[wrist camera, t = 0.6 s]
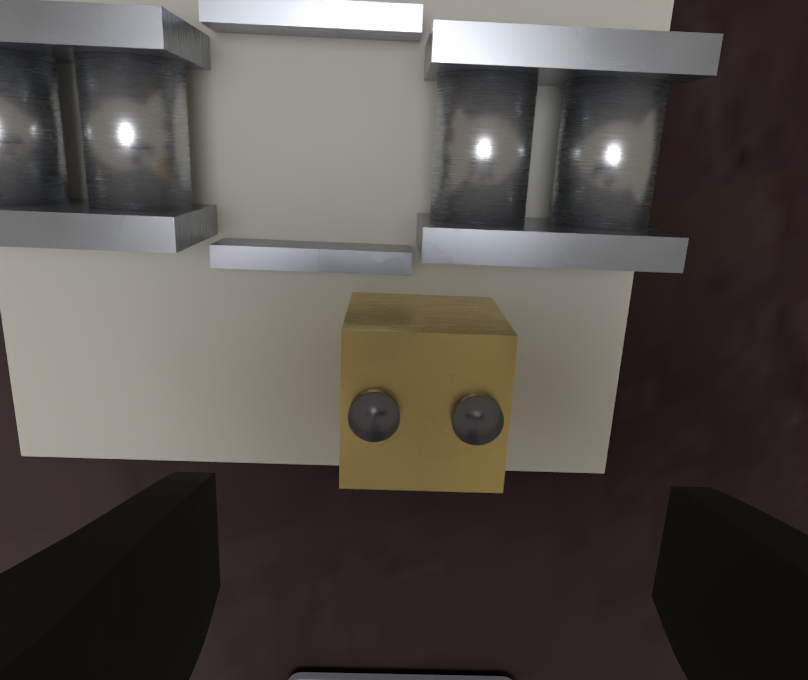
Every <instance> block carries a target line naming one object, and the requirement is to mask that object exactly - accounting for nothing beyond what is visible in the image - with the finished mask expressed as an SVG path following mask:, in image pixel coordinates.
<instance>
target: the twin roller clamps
mask: <svg viewBox="0 0 808 680" xmlns="http://www.w3.org/2000/svg"><path fill="white" fill-rule="evenodd" d="M198 6H199V22H201V23H202V24H204V25H205V26H207V27H208V28H210V29H211V30H212V31H214V32H216V33H237V34H257V35H278V36H298V37H319V38H340V39H360V40H381V41H401V42H420V39H421V35H422V22H423V4H409V3H389V2H369V1H349V0H198ZM722 39H723V34H714V33H694V32H674V31H654V30H633V29H613V28H593V27H573V26H553V25H533V24H513V23H493V22H473V21H452V20H433V23H432V26H431V30H430V33H429V36H428V40H427V43H426V46H425V63H424V80H426V81H437V85H436V104H435V123H434V142H433V161H432V180H431V199H430V213H417V232H416V244H417V248H418V252H419V255H420V259H421V263H437V264H462V265H488V266H514V267H539V268H565V269H591V270H616V271H642V272H668V273H683V270H684V264H685V258H686V252H687V246H688V240H689V238H687V237H684V236H680V235H677V234H673V233H670V232H666V231H663V230H659V229H656V228H653V227H649V226H648V223H649V216H650V210H651V203H652V196H653V190H654V183H655V176H656V170H657V163H658V156H659V150H660V143H661V136H662V130H663V123H664V116H665V110H666V103H667V96H668V90H669V87H671V86H675V85H679V84H683V83H687V82H692V81H696V80H700V79H704V78H709V77H713V76H716V75H717V69H718V63H719V57H720V51H721V45H722ZM56 63H65V64H75V71H76V81H77V92H78V102H79V112H80V122H81V133H82V143H83V153H84V163H85V173H86V184H87V194H88V199H70V194H69V184H68V175H67V165H66V156H65V147H64V137H63V128H62V118H61V109H60V99H59V90H58V80H57V71H56ZM185 69H192V70H211V58H210V36H208V35H206V34H205V33H203V32H202V31H200V30H199V29H197V28H195V27H194V26H192V25H191V24H189V23H187V22H186V21H184V20H183V19H181V18H180V17H178V16H176V15H175V14H173V13H172V12H170V11H168V10H167V9H165V8H164V7H162V6H151V5H131V4H111V3H90V2H70V1H50V0H0V247H26V248H52V249H77V250H103V251H129V252H154V253H178V252H180V251H182V250H185V249H187V248H189V247H191V246H193V245H195V244H197V243H200V242H202V241H204V240H206V239H208V238H210V237H212V236H215V235H217V234H218V227H217V205H215V204H192V186H191V167H190V147H189V128H188V109H187V90H186V71H185ZM538 86H554V87H564V92H563V101H562V111H561V120H560V130H559V139H558V148H557V158H556V167H555V177H554V186H553V195H552V205H551V214H550V218H531V217H525V213H526V202H527V192H528V181H529V171H530V160H531V150H532V139H533V129H534V118H535V108H536V97H537V87H538ZM209 248H210V268H221V269H247V270H273V271H300V272H326V273H352V274H378V275H404V276H411V262H412V251H411V245H392V244H367V243H342V242H316V241H291V240H266V239H241V238H222V239H220V240H218V241H216V242H214V243H212V244H210V245H209Z"/></svg>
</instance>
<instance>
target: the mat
mask: <svg viewBox="0 0 808 680" xmlns="http://www.w3.org/2000/svg"><path fill="white" fill-rule="evenodd" d="M50 1H70V2H90V3H111V4H131V5H151V6H162V7H164V8H165V9H167V10H168V11H170V12H172V13H173V14H175V15H176V16H178V17H180V18H181V19H183V20H184V21H186V22H187V23H189V24H191V25H192V26H194V27H195V28H197V29H199V30H200V31H202V32H203V33H205V34H206V35H208V36H210V58H211V70H192V69H185V71H186V90H187V109H188V128H189V147H190V167H191V186H192V204H215V205H217V227H218V234H217V235H215V236H212V237H210V238H208V239H206V240H204V241H202V242H200V243H197V244H195V245H193V246H191V247H189V248H187V249H185V250H182V251H180V252H178V253H154V252H129V251H103V250H77V249H52V248H26V247H0V310H1V317H2V324H3V331H4V338H5V345H6V352H7V359H8V366H9V373H10V380H11V387H12V394H13V401H14V408H15V415H16V421H17V428H18V435H19V442H20V449H21V456H39V457H72V458H105V459H139V460H172V461H206V462H239V463H272V464H306V465H339V457H340V388H341V329H342V326H343V322H344V319H345V316H346V312H347V309H348V305H349V302H350V298H351V295H352V292H363V293H390V294H417V295H443V296H470V297H492V298H493V300H494V301H495V303H496V304H497V306H498V307H499V309H500V310H501V312H502V313H503V315H504V316H505V318H506V319H507V320H508V322H509V323H510V325H511V326H512V328H513V329H514V331H515V332H516V334H517V335H518V343H517V354H516V364H515V374H514V385H513V395H512V405H511V415H510V426H509V436H508V446H507V457H506V467H505V470H506V471H540V472H573V473H605V466H606V459H607V452H608V446H609V439H610V432H611V425H612V418H613V412H614V405H615V398H616V391H617V384H618V378H619V371H620V364H621V357H622V350H623V344H624V337H625V330H626V323H627V316H628V310H629V303H630V296H631V289H632V282H633V276H634V271H616V270H591V269H565V268H539V267H514V266H488V265H462V264H437V263H421V259H420V255H419V252H418V248H417V244H416V232H417V213H430V199H431V180H432V161H433V142H434V123H435V104H436V85H437V81H426V80H424V63H425V46H426V43H427V40H428V36H429V33H430V30H431V26H432V23H433V20H452V21H473V22H493V23H513V24H533V25H553V26H573V27H593V28H613V29H633V30H654V31H670V24H671V17H672V10H673V3H674V0H349V1H369V2H389V3H409V4H423V22H422V35H421V39H420V42H401V41H381V40H360V39H340V38H319V37H298V36H278V35H257V34H237V33H216V32H214V31H212V30H211V29H210V28H208V27H207V26H205V25H204V24H202V23H201V22H199V6H198V0H50ZM56 71H57V80H58V90H59V99H60V109H61V118H62V128H63V137H64V147H65V156H66V165H67V175H68V184H69V194H70V199H88V194H87V184H86V173H85V163H84V153H83V143H82V133H81V122H80V112H79V102H78V92H77V81H76V71H75V64H65V63H56ZM563 92H564V87H554V86H538V87H537V97H536V108H535V118H534V129H533V139H532V150H531V160H530V171H529V181H528V192H527V202H526V213H525V217H531V218H550V214H551V205H552V195H553V186H554V177H555V167H556V158H557V148H558V139H559V130H560V120H561V111H562V101H563ZM222 238H241V239H266V240H291V241H316V242H342V243H367V244H392V245H411V251H412V262H411V276H404V275H378V274H352V273H326V272H300V271H273V270H247V269H221V268H210V248H209V245H210V244H212V243H214V242H216V241H218V240H220V239H222Z"/></svg>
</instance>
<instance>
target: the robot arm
mask: <svg viewBox="0 0 808 680" xmlns="http://www.w3.org/2000/svg"><path fill="white" fill-rule="evenodd" d="M219 588H220V569H219V547H218V525H217V504H216V482H215V473H196V472H175V473H173V474H171V475H168V476H166V477H165V478H163V479H161V480H159V481H158V482H156V483H154V484H153V485H151V486H149V487H148V488H146V489H144V490H143V491H141V492H139V493H138V494H136V495H135V496H133V497H131V498H130V499H128V500H127V501H125V502H123V503H122V504H120V505H118V506H117V507H115V508H114V509H112V510H110V511H109V512H107V513H105V514H104V515H102V516H101V517H99V518H97V519H96V520H94V521H92V522H91V523H89V524H87V525H86V526H84V527H83V528H81V529H79V530H78V531H76V532H74V533H73V534H71V535H69V536H67V537H65V538H64V539H62V540H60V541H58V542H56V543H55V544H53V545H51V546H49V547H48V548H46V549H44V550H42V551H40V552H39V553H37V554H35V555H33V556H31V557H30V558H28V559H26V560H24V561H23V562H21V563H19V564H17V565H15V566H14V567H12V568H10V569H8V570H6V571H4V572H2V573H1V574H0V680H189V678H190V676H191V674H192V671H193V669H194V667H195V664H196V662H197V659H198V657H199V655H200V652H201V650H202V647H203V644H204V641H205V638H206V634H207V631H208V628H209V624H210V621H211V617H212V614H213V610H214V607H215V603H216V599H217V596H218V592H219ZM652 598H653V600H654V603H655V606H656V609H657V611H658V614H659V617H660V619H661V622H662V625H663V627H664V630H665V632H666V635H667V637H668V640H669V642H670V644H671V647H672V649H673V652H674V654H675V656H676V658H677V660H678V662H679V664H680V666H681V668H682V670H683V671H684V673H685V675H686V677H687V679H688V680H808V535H807V534H805V533H803V532H801V531H799V530H797V529H795V528H793V527H791V526H789V525H787V524H785V523H784V522H782V521H780V520H778V519H776V518H774V517H772V516H770V515H768V514H766V513H764V512H762V511H760V510H758V509H756V508H754V507H752V506H750V505H748V504H746V503H744V502H742V501H740V500H738V499H736V498H734V497H732V496H729V495H727V494H725V493H722V492H720V491H717V490H715V489H712V488H706V487H672V486H671V492H670V497H669V503H668V508H667V514H666V520H665V525H664V531H663V536H662V542H661V548H660V553H659V559H658V564H657V570H656V575H655V581H654V587H653V592H652ZM288 680H512V679H510V678H509V677H504V676H464V675H416V674H368V673H320V672H299V673H295V674H293V675H291V677H290V678H289V679H288Z"/></svg>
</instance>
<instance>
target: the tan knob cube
mask: <svg viewBox="0 0 808 680" xmlns="http://www.w3.org/2000/svg"><path fill="white" fill-rule="evenodd" d="M517 343H518V335H517V334H516V332H515V331H514V329H513V328H512V326H511V325H510V323H509V322H508V320H507V319H506V318H505V316H504V315H503V313H502V312H501V310H500V309H499V307H498V306H497V304H496V303H495V301H494V300H493V298H492V297H470V296H443V295H417V294H390V293H363V292H352V295H351V298H350V302H349V305H348V309H347V312H346V316H345V319H344V322H343V326H342V329H341V388H340V457H339V488H341V489H376V490H410V491H445V492H479V493H503V487H504V477H505V467H506V457H507V446H508V436H509V426H510V415H511V405H512V395H513V385H514V374H515V364H516V354H517Z"/></svg>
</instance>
